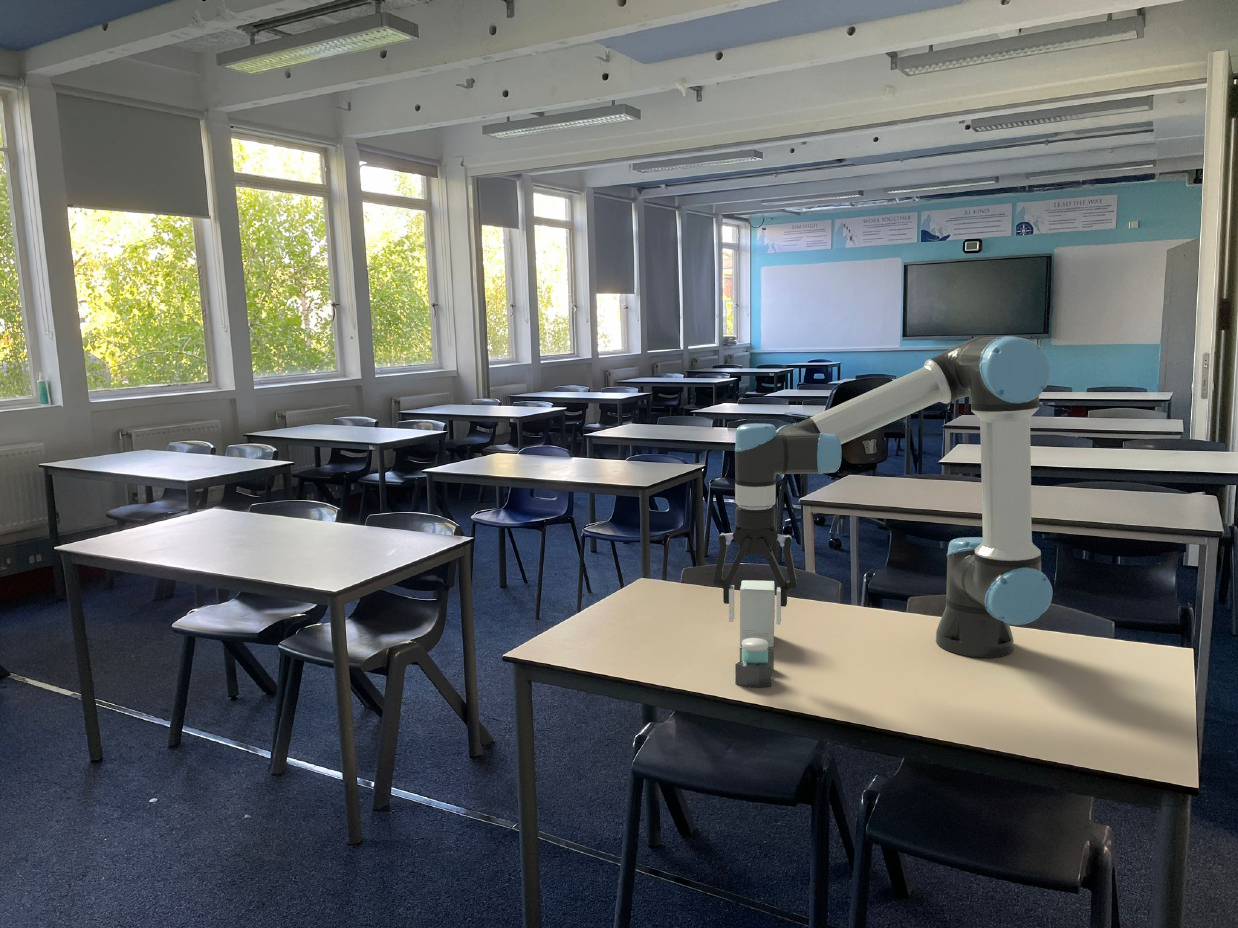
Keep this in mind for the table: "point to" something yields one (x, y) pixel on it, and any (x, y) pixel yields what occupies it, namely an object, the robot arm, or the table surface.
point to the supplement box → (757, 610)
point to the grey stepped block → (754, 672)
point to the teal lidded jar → (755, 650)
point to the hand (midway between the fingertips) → (755, 620)
